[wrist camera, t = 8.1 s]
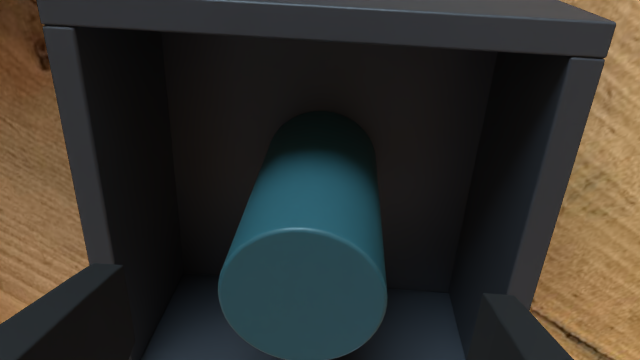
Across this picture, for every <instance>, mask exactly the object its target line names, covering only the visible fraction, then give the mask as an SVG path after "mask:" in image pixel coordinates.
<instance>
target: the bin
mask: <svg viewBox="0 0 640 360" xmlns="http://www.w3.org/2000/svg"><path fill="white" fill-rule="evenodd" d="M36 1H37V6H38V11H39V16H40V21H41V23H42V24H44V26H43V33H44V38H45V43H46V48H47V53H48V58H49V63H50V68H51V73H52V78H53V83H54V88H55V93H56V98H57V103H58V108H59V113H60V119H61V124H62V129H63V134H64V139H65V144H66V149H67V154H68V159H69V164H70V169H71V174H72V179H73V184H74V189H75V194H76V199H77V204H78V209H79V214H80V219H81V224H82V230H83V235H84V240H85V245H86V250H87V255H88V260H89V265H91V264H93V263H101V264H114V265H123V266H124V272H125V279H126V285H127V291H128V297H129V304H130V310H131V316H132V323H133V329H134V335H135V344H134V347H133V349H132V352H131V355H130V358H129V360H285V359H281V358H277V357H274V356H271V355H269V354H266V353H264V352H262V351H260V350H258V349H256V348H255V347H253V346H251V345H250V344H249V343H247V342H246V341H244V340H243V339H242V338H241V337H240V336H239V335H238V334H237V333H236V332H235V331H234V330H233V329H232V327H231V326H230V324H229V323H228V321H227V320H226V318H225V316H224V314H223V312H222V309H221V306H220V302H219V296H218V281H219V276H220V273H221V270H222V267H223V265H224V262H225V259H226V257H227V254H228V252H229V249H230V247H231V244H232V241H233V239H234V236H235V234H236V231H237V228H238V226H239V223H240V221H241V218H242V216H243V213H244V210H245V208H246V205H247V203H248V200H249V197H250V195H251V192H252V190H253V187H254V185H255V182H256V179H257V177H258V174H259V172H260V169H261V167H262V164H263V161H264V159H265V156H266V154H267V151H268V148H269V146H270V143H271V141H272V139H273V137H274V135H275V134H276V132H277V131H278V130H279V129H280V128H281V127H282V126H283V125H284V124H285V123H286V122H287V121H289V120H290V119H292V118H294V117H296V116H298V115H301V114H304V113H308V112H314V111H327V112H333V113H337V114H340V115H343V116H345V117H347V118H349V119H351V120H352V121H354V122H355V123H357V124H358V125H359V126H360V127H361V128H362V129H363V130H364V131H365V132H366V134H367V135H368V137H369V138H370V140H371V142H372V144H373V147H374V150H375V155H376V165H377V177H378V189H379V200H380V212H381V224H382V236H383V247H384V259H385V271H386V283H387V294H388V299H387V308H386V313H385V316H384V318H383V321H382V323H381V324H380V326H379V328H378V329H377V331H376V332H375V333H374V335H373V336H372V337H371V338H370V339H369V340H368V341H367V342H366V343H365V344H363V345H362V346H361V347H359V348H358V349H356V350H354V351H352V352H351V353H349V354H346V355H344V356H341V357H338V358H335V359H331V360H467V356H468V352H469V348H470V344H471V340H472V336H473V332H474V328H475V323H476V319H477V315H478V311H479V307H480V303H481V299H482V295H483V293H489V294H502V295H514V296H515V297H516V298H517V299H518V300H519V301H520V302H521V303H522V304H523V305H524V306H525V307H526V308H527V309H528V311H529V310H530V307H531V303H532V300H533V297H534V293H535V290H536V287H537V283H538V280H539V277H540V274H541V270H542V267H543V264H544V260H545V257H546V254H547V250H548V247H549V244H550V241H551V237H552V234H553V231H554V227H555V224H556V221H557V217H558V214H559V211H560V208H561V204H562V201H563V198H564V194H565V191H566V188H567V184H568V181H569V178H570V175H571V171H572V168H573V165H574V161H575V158H576V155H577V151H578V148H579V145H580V142H581V138H582V135H583V132H584V128H585V125H586V122H587V118H588V115H589V112H590V109H591V105H592V102H593V99H594V95H595V92H596V89H597V85H598V82H599V79H600V76H601V72H602V69H603V66H604V62H605V60H604V59H603V58H605V57H606V56H607V53H608V50H609V47H610V43H611V40H612V37H613V33H614V30H615V27H616V23H615V22H613V21H611V20H608V19H606V18H603V17H600V16H598V15H595V14H593V13H590V12H587V11H585V10H582V9H580V8H577V7H574V6H572V5H569V4H567V3H564V2H561V1H559V0H36Z"/></svg>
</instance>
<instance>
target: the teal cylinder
mask: <svg viewBox="0 0 640 360" xmlns="http://www.w3.org/2000/svg"><path fill="white" fill-rule="evenodd" d="M218 296H219V302H220V306H221V309H222V312H223V314H224V316H225V318H226V320H227V321H228V323H229V324H230V326H231V327H232V329H233V330H234V331H235V332H236V333H237V334H238V335H239V336H240V337H241V338H242V339H243V340H244V341H246V342H247V343H249V344H250V345H251V346H253V347H255V348H256V349H258V350H260V351H262V352H264V353H266V354H269V355H271V356H274V357H277V358H281V359H285V360H331V359H335V358H338V357H341V356H344V355H346V354H349V353H351V352H352V351H354V350H356V349H358V348H359V347H361V346H362V345H363V344H365V343H366V342H367V341H368V340H369V339H370V338H371V337H372V336H373V335H374V333H375V332H376V331H377V329H378V328H379V326H380V324H381V323H382V321H383V318H384V316H385V313H386V308H387V299H388V294H387V283H386V271H385V259H384V247H383V236H382V224H381V212H380V200H379V189H378V177H377V165H376V155H375V150H374V147H373V144H372V142H371V140H370V138H369V137H368V135H367V134H366V132H365V131H364V130H363V129H362V128H361V127H360V126H359V125H358V124H357V123H355V122H354V121H352V120H351V119H349V118H347V117H345V116H343V115H340V114H337V113H333V112H327V111H314V112H308V113H304V114H301V115H298V116H296V117H294V118H292V119H290V120H289V121H287V122H286V123H285V124H284V125H283V126H282V127H281V128H280V129H279V130H278V131H277V132H276V134H275V135H274V137H273V139H272V141H271V143H270V146H269V148H268V151H267V154H266V156H265V159H264V161H263V164H262V167H261V169H260V172H259V174H258V177H257V179H256V182H255V185H254V187H253V190H252V192H251V195H250V197H249V200H248V203H247V205H246V208H245V210H244V213H243V216H242V218H241V221H240V223H239V226H238V228H237V231H236V234H235V236H234V239H233V241H232V244H231V247H230V249H229V252H228V254H227V257H226V259H225V262H224V265H223V267H222V270H221V273H220V276H219V281H218Z"/></svg>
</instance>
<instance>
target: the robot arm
mask: <svg viewBox="0 0 640 360" xmlns="http://www.w3.org/2000/svg"><path fill="white" fill-rule="evenodd" d="M134 344H135V335H134V329H133V323H132V316H131V310H130V304H129V297H128V291H127V285H126V279H125V272H124V266H123V265H114V264H101V263H93V264H91V265H90V266H88V267H86V268H85V269H83V270H82V271H80V272H78V273H77V274H75V275H74V276H72V277H71V278H69V279H68V280H66V281H65V282H63V283H62V284H60V285H59V286H57V287H56V288H54V289H53V290H51V291H50V292H48V293H47V294H45V295H44V296H43V297H41V298H40V299H38V300H37V301H35V302H34V303H32V304H30V305H29V306H27V307H26V308H24V309H23V310H21V311H20V312H18V313H17V314H15V315H14V316H12V317H11V318H9V319H8V320H6V321H5V322H3V323H2V324H0V360H129V358H130V355H131V352H132V349H133V347H134ZM467 360H574V359H573V358H572V357H571V356H570V355H569V354H568V353H567V352H566V351H565V350H564V349H563V348H562V347H561V345H560V344H559V343H558V342H557V341H556V340H555V339H554V338H553V337H552V336H551V335H550V334H549V332H548V331H547V330H546V329H545V328H544V327H543V326H542V325H541V324H540V323H539V322H538V320H537V319H536V318H535V317H534V316H533V315H532V314H531V313H530V312H529V311H528V309H527V308H526V307H525V306H524V305H523V304H522V303H521V302H520V301H519V300H518V299H517V298H516V297H515V296H514V295H502V294H489V293H483V295H482V299H481V303H480V307H479V311H478V315H477V319H476V323H475V328H474V332H473V336H472V340H471V344H470V348H469V352H468V356H467Z"/></svg>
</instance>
